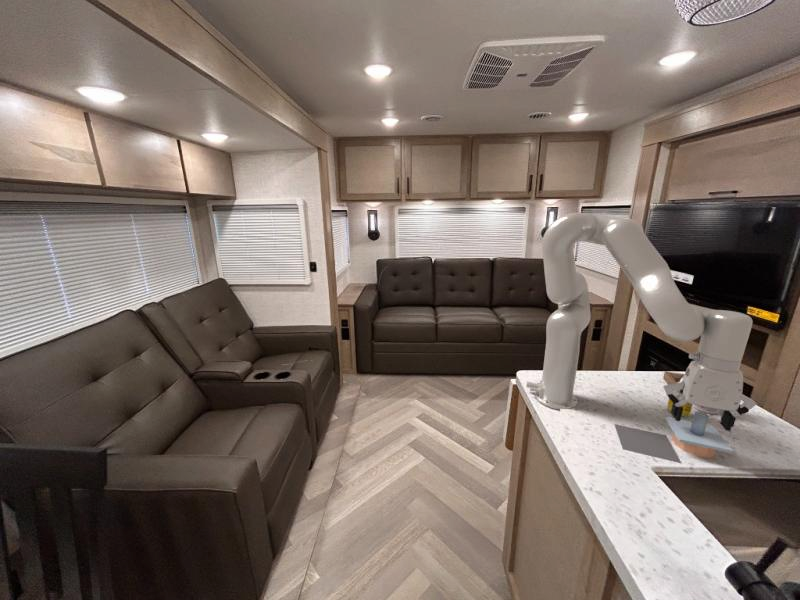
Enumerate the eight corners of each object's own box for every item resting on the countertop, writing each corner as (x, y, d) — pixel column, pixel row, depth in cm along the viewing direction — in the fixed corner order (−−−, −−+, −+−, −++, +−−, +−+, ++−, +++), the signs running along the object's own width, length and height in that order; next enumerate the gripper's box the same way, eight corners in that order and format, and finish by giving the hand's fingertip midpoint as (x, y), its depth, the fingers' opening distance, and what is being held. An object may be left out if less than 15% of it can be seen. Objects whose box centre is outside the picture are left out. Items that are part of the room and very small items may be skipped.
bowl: (679, 454, 79) (682, 440, 78) (667, 435, 87) (671, 421, 85) (720, 464, 76) (725, 449, 75) (705, 443, 83) (709, 429, 82)
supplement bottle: (669, 407, 99) (676, 380, 97) (691, 415, 95) (699, 387, 92) (663, 412, 96) (669, 385, 94) (685, 422, 92) (693, 393, 90)
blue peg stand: (679, 441, 78) (684, 420, 76) (665, 418, 87) (670, 399, 85) (732, 453, 74) (739, 431, 72) (712, 427, 83) (718, 407, 81)
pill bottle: (701, 402, 102) (709, 371, 99) (723, 413, 96) (733, 381, 93) (686, 404, 101) (694, 373, 98) (708, 415, 95) (717, 383, 92)
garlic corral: (674, 392, 107) (675, 385, 106) (663, 378, 117) (664, 371, 116) (715, 400, 103) (718, 392, 102) (700, 384, 112) (703, 376, 112)
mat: (622, 451, 81) (622, 449, 80) (613, 426, 90) (614, 424, 90) (681, 466, 76) (681, 463, 76) (665, 437, 86) (665, 435, 85)
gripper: (677, 361, 75) (662, 422, 79) (777, 375, 68) (754, 441, 73) (666, 349, 82) (653, 407, 86) (756, 361, 75) (737, 422, 79)
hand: (699, 422), depth 79 cm, fingers open, 9 cm apart
